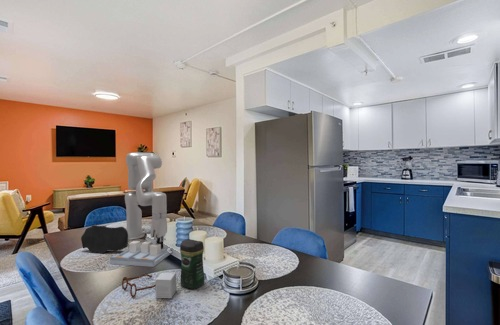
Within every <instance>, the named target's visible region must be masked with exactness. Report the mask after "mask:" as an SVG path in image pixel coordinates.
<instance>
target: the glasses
mask: <svg viewBox="0 0 500 325" xmlns="http://www.w3.org/2000/svg"><path fill="white" fill-rule="evenodd" d="M146 276H147V277H149V278H152V277H153V276H152V275H150V274H148V273H145V274H142V275H139V276H135V277H134V276H133V277H129V278H128V277H126V276H124V277H123V278H122V281H121V286H122V287H121V288H122V290H123V289H124V291H125V290H127V289H128V286H129V287H130V291H129V292H130V297H131V296H132V297H131V298H135V297H136V296H137V292H139V291H144V290H149V289H150V290H151V289H154V288H156V283H155V284H153V285H151V286H146V287H141V288H137V284H135V283H132V284H131V283H130V282H129V281H130V280H136V279H137V280H138V279H140V278H143V277H146ZM125 281H126V283H125V284H126V285H124V282H125ZM124 286H125V287H124ZM133 286H134V294H133Z"/></svg>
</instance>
